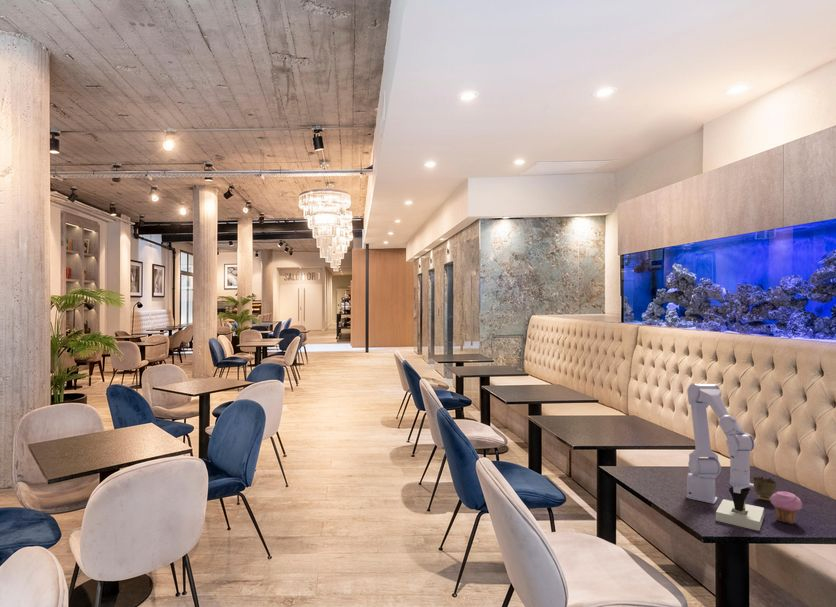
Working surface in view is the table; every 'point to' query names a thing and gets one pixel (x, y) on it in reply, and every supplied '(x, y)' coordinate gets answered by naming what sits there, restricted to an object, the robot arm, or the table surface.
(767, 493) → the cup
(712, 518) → the table surface
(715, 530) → the table surface
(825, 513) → the table surface
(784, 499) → the cupcake
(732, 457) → the robot arm
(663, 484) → the table surface
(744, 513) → the peg
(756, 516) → the board
